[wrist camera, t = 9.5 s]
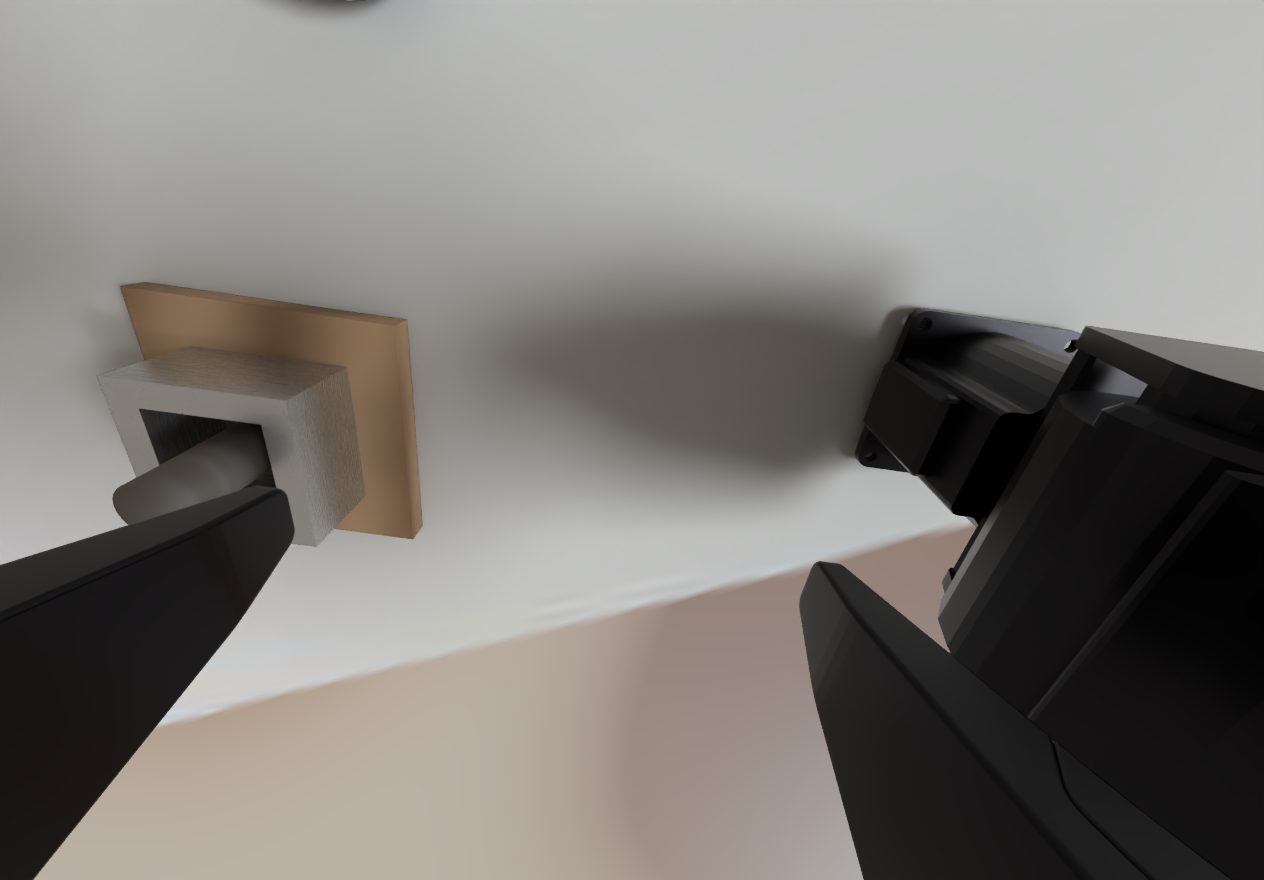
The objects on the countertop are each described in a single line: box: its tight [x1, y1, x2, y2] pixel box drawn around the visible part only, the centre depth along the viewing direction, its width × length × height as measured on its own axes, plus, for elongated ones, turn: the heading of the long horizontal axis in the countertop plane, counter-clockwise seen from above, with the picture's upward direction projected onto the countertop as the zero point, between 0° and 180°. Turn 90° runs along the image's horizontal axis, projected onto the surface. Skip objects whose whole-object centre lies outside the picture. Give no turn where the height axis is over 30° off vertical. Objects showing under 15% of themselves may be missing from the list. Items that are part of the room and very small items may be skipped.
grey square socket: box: [97, 346, 366, 547], centre depth 18 cm, size 6×6×4 cm
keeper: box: [113, 282, 422, 539], centre depth 18 cm, size 10×10×7 cm
